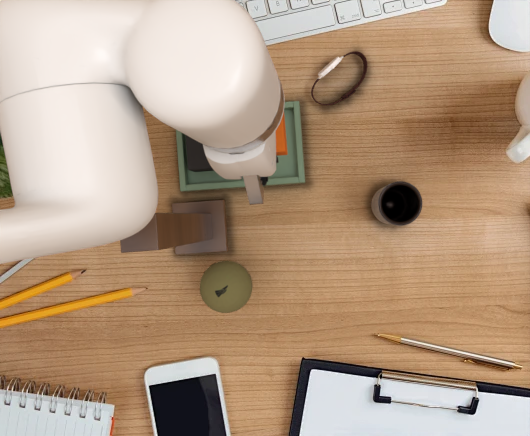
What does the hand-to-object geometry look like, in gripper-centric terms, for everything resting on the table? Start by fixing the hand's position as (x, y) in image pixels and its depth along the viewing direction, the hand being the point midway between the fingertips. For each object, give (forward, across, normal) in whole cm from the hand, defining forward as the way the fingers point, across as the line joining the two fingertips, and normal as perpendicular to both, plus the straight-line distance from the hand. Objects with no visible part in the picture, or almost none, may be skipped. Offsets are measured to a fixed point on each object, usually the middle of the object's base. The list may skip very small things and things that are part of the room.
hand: (260, 132), depth 61 cm
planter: (+12, +8, +14) cm, 20 cm away
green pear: (+12, +16, -5) cm, 20 cm away
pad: (+11, 0, -7) cm, 13 cm away
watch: (+12, -7, +8) cm, 16 cm away
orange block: (-1, 0, 0) cm, 1 cm away
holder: (+11, 0, -4) cm, 12 cm away
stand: (+11, +9, -9) cm, 17 cm away
